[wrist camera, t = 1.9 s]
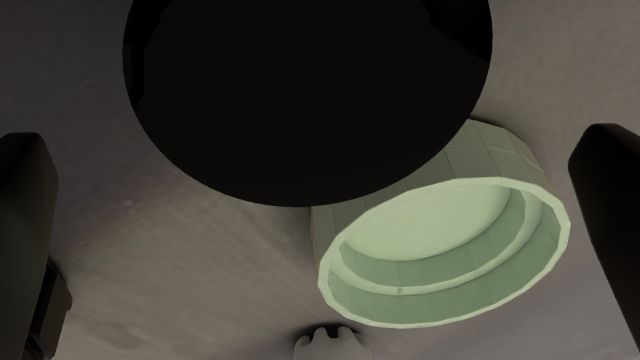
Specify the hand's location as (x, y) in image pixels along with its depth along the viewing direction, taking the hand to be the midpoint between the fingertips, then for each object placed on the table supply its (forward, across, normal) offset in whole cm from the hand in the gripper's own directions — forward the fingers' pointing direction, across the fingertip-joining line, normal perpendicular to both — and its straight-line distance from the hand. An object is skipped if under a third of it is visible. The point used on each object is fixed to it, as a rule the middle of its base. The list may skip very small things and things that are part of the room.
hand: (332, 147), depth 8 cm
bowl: (+12, -8, +15) cm, 21 cm away
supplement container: (+12, 0, 0) cm, 12 cm away
